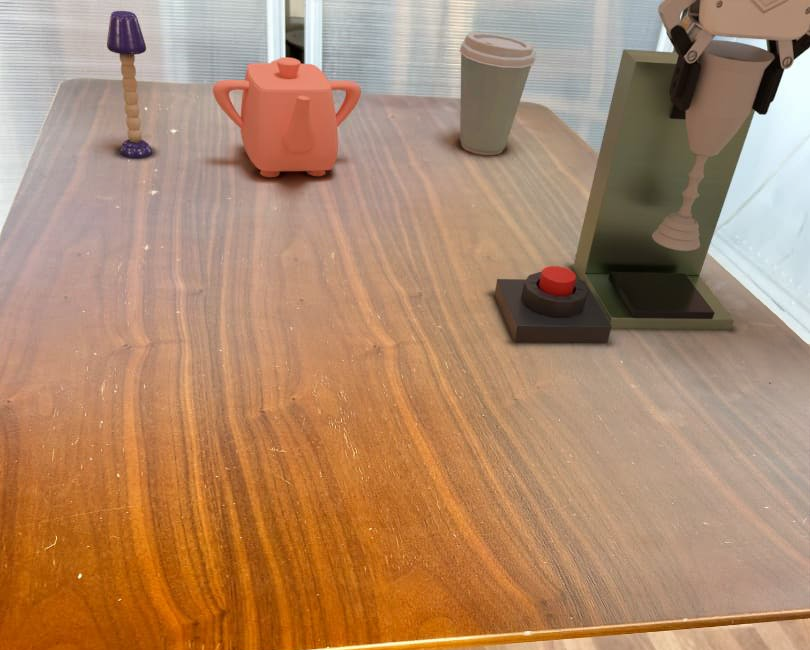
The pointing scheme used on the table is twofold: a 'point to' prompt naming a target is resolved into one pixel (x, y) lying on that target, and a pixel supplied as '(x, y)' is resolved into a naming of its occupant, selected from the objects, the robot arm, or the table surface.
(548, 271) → the button
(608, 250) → the green panel on base
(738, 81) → the chalice
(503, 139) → the disposable coffee cup
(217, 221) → the table surface
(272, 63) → the teapot
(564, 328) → the button block
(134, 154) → the toy lamp
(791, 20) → the robot arm
